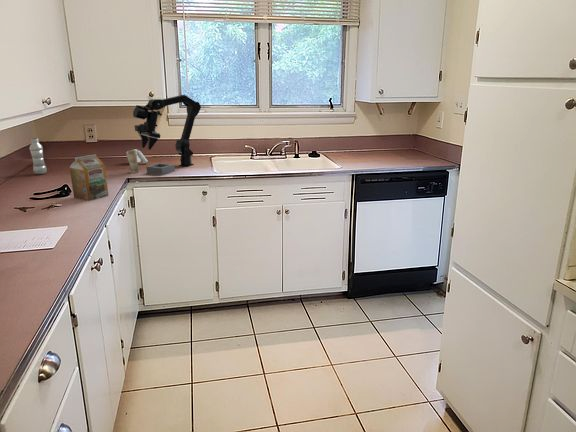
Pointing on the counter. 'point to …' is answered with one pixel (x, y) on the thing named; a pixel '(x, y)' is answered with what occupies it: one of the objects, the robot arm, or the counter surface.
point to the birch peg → (133, 161)
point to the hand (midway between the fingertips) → (146, 148)
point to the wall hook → (139, 157)
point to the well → (160, 169)
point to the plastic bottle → (37, 157)
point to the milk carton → (88, 178)
